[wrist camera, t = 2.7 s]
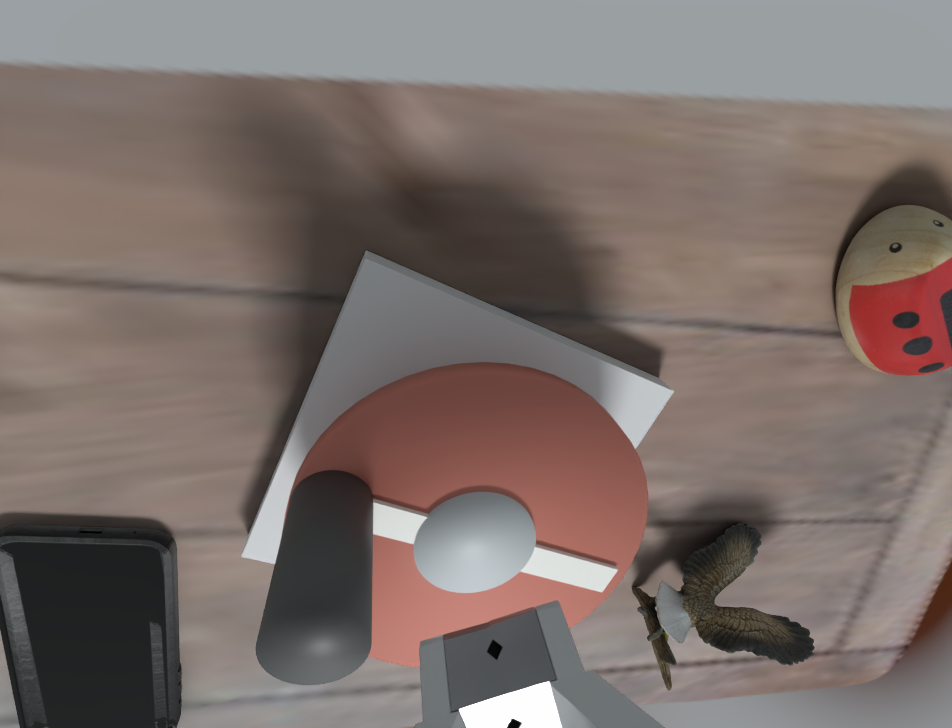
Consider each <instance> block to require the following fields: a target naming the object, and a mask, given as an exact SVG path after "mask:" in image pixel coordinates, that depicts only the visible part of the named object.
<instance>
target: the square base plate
mask: <svg viewBox="0 0 952 728" xmlns="http://www.w3.org/2000/svg"><path fill="white" fill-rule="evenodd" d="M474 362H493V363H509V364H515V365H520V366H525V367H531V368H535V369H538V370H541V371H544V372H547V373H550V374H553V375H556V376H558V377H560V378H562V379H564V380H566V381H568V382H570V383H572V384H574V385H576V386H577V387H579V388H580V389H582V390H583V391H585V392H586V393H587V394H589V395H590V396H592V397H593V398H594V399H595V400H596V401H597V402H598V403H599V404H600V405H601V406H603V407H604V408H605V409H606V410H607V411H608V413H609V414H610V415H611V416H612V418H613V419H614V420H615V421H616V423H617V424H618V425H619V426H620V428H621V429H622V430H623V432H624V433H625V434H626V436H627V437H628V438H629V439H630V441H631V442H632V444H633V446H634V448H635V449H636V448H637V446H638V445H639V443H640V442H641V440H642V439H643V437H644V436H645V434H646V433H647V431H648V430H649V428H650V427H651V425H652V424H653V422H654V421H655V419H656V418H657V416H658V415H659V413H660V412H661V410H662V409H663V407H664V406H665V404H666V403H667V401H668V400H669V398H670V397H671V395H672V394H673V392H674V391H673V390H672V389H671V388H670V387H669V386H668V385H666V384H665V383H664V382H663V381H662V380H661V379H660V378H658V377H656V376H653V375H651V374H649V373H646V372H644V371H642V370H639V369H637V368H635V367H633V366H630V365H628V364H626V363H623V362H621V361H619V360H617V359H614V358H612V357H610V356H607V355H605V354H603V353H601V352H598V351H596V350H594V349H591V348H589V347H587V346H585V345H582V344H580V343H578V342H575V341H573V340H571V339H568V338H566V337H564V336H562V335H559V334H557V333H555V332H552V331H550V330H548V329H546V328H543V327H541V326H539V325H536V324H534V323H532V322H530V321H527V320H525V319H523V318H520V317H518V316H516V315H513V314H511V313H509V312H507V311H504V310H502V309H500V308H497V307H495V306H493V305H491V304H488V303H486V302H484V301H481V300H479V299H477V298H475V297H472V296H470V295H468V294H465V293H463V292H461V291H458V290H456V289H454V288H452V287H449V286H447V285H445V284H442V283H440V282H438V281H436V280H433V279H431V278H429V277H426V276H424V275H422V274H420V273H417V272H415V271H413V270H410V269H408V268H406V267H403V266H401V265H399V264H397V263H394V262H392V261H390V260H387V259H385V258H383V257H381V256H378V255H376V254H374V253H371V252H369V251H367V250H366V251H365V254H364V256H363V258H362V261H361V263H360V266H359V268H358V270H357V273H356V275H355V278H354V280H353V283H352V285H351V287H350V290H349V292H348V295H347V297H346V300H345V302H344V304H343V307H342V309H341V312H340V314H339V316H338V319H337V321H336V324H335V326H334V329H333V331H332V333H331V336H330V338H329V341H328V343H327V345H326V348H325V350H324V353H323V355H322V358H321V360H320V362H319V365H318V367H317V370H316V372H315V374H314V377H313V379H312V382H311V384H310V387H309V389H308V391H307V394H306V396H305V399H304V401H303V403H302V406H301V408H300V411H299V413H298V416H297V418H296V420H295V423H294V425H293V428H292V430H291V433H290V435H289V437H288V440H287V442H286V445H285V447H284V449H283V452H282V454H281V457H280V459H279V462H278V464H277V466H276V469H275V471H274V474H273V476H272V478H271V481H270V483H269V486H268V488H267V491H266V493H265V495H264V498H263V500H262V503H261V505H260V507H259V510H258V512H257V515H256V517H255V520H254V522H253V524H252V527H251V529H250V532H249V534H248V537H247V540H246V543H245V546H244V549H243V553H242V556H241V557H245V558H250V559H254V560H259V561H263V562H268V563H272V564H275V562H276V558H277V554H278V549H279V545H280V541H281V537H282V530H283V524H284V518H285V512H286V508H287V504H288V500H289V496H290V492H291V489H292V486H293V483H294V480H295V477H296V474H297V472H298V470H299V468H300V466H301V465H302V463H303V461H304V459H305V457H306V455H307V453H308V452H309V450H310V449H311V448H312V446H313V445H314V444H315V442H316V441H317V440H318V438H319V437H320V435H321V434H322V433H323V432H324V431H325V430H326V429H327V428H328V427H329V426H330V425H331V424H332V423H333V422H334V421H335V420H336V419H337V418H338V417H339V416H340V415H341V414H343V413H344V412H345V411H346V410H348V409H349V408H350V407H351V406H353V405H354V404H355V403H356V402H358V401H359V400H361V399H363V398H364V397H366V396H367V395H369V394H371V393H372V392H374V391H376V390H377V389H379V388H381V387H383V386H385V385H387V384H390V383H392V382H394V381H396V380H399V379H401V378H403V377H405V376H408V375H412V374H415V373H418V372H421V371H425V370H428V369H431V368H436V367H442V366H447V365H452V364H459V363H474Z"/></svg>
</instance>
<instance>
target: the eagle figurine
mask: <svg viewBox="0 0 952 728" xmlns="http://www.w3.org/2000/svg"><path fill="white" fill-rule="evenodd" d="M749 529H750V526H749V525H746V526H744V524H743V523H740V524H736V525H732V526H731V527H730V528H729V529H726V530H725V533H724V535H721V536H719V537H718V538H717V539H716V542H713V543H711V545H709V546H707V547H706V548H705V550H703V549H700V550H699V551H694V553H693V554H692V555H691V556H690V557H689V559H688V560H687V561H686V562H685V563H684V567H683V569H682V571H683V573H684V577H683V582H684V585H683V586H682V587H681V590H680V591H678V592H677V591H676V590H675V589H673V588H672V587H671V586H669V585H668V584H667V583H666V582H664V581H662V582H661V583H660V585H659V588H658V592H657V596H655V597H654V598H653V597H650V596H648V594H646V593H645V592H643V591H642V590H641V589H640V588H635V587H632V591H633V593H634V595H635V596H636V598H637V599H638V601H639V603H640V605H641V607H638V611H639V612H640V613H642V615H643V616H644V619H645V622H646V625H647V629H648V631H649V634H650V635H648V637H647V639H648V641H651V642H652V646H653V649H654V653H655V655H656V658H657V661H658V664H659V667H660V670H661V673H662V677H663V680H664V682H665V685H666V688H667V690H671V688H672V684H671V675H670V670H669V666H668V664H671V665H674V666H675V665H676V660H675V658H674V655H673V653H672V651H671V649H670V647H669V645H668V643H667V641H668V636H670V637H671V639H673V640H674V641H676V642H678V643H683V642H684V640H685V637H686V635H687V633H688V631H689V629H690V627H696V629H697V631H698V633H699V636H700V638H702V639H703V641H704V642H705V643H706V644H708V643H710V645H711V646H713V647H715V648H717V649H720V650H722V651H726V652H728V653H734V652H736V651H743V650H745V651H747V652H753V653H754V654H755V655H757V656H760V655H761V656H767V657H768V658H769V659H775V660H777V661H778V662H779V663H780V664H782V665H786V664H788V665H793V662H794V663H796V664H798V663H799V661H800V662H803V661H804V660H805V659H808V658H809V657H810V656H813V652H812V651H813V650H814V646H813V643H814V640H813V639H812V638H810V637H809V635H810V631H809V630H808V629H806V628H803V627H801V625H800V624H799V623H797V622H790V620H789V618H787V617H782V616H776V615H770V614H766V613H763V612H761V611H758V610H756V609H753V608H745V607H739V608H735V607H719V606H717V605H715V603H714V600H715V597H716V596H717V595H718V594H719V593H720V592H721V591H722V590H723V589H724V588H725V587H726V586H728V585H729V584H730V583H732V582H733V581H734V580H735V579H736V578H737V577H739V576H740V575H741V574H742V573H743V572H744V571H745V569H746V567H748V566H749V565H751V564H752V563H753V562H754V557H755V556H756V555H757V553H758V550H757V548H758V547H759V546H760V545H761V541H760V540H759V539H760V538H761V535H760V534H757V529H750V530H749ZM656 606H657V611H656V610H655V607H656ZM657 614H658V617H657ZM658 618H659V620H658Z"/></svg>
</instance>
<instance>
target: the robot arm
mask: <svg viewBox="0 0 952 728" xmlns="http://www.w3.org/2000/svg"><path fill="white" fill-rule="evenodd" d="M419 659H420V677H421V695H422V714H423V722H421V723H418V724H416V725H415V727H414V728H664V726H662V725H661V724H660V723H658V722H657V721H656V720H655V719H654V718H652V717H651V716H650V715H648V714H647V713H646V712H645V711H643V710H642V709H641V708H640V707H638V706H637V705H636V704H635V703H633V702H632V701H631V700H630V699H628V698H627V697H626V696H625V695H623V694H622V693H621V692H619V691H618V690H617V689H616V688H614V687H613V686H612V685H611V684H609V683H608V682H607V681H606V680H604V679H603V678H602V677H601V676H599V675H598V674H597V673H596V672H594V671H593V670H588V671H584V668H583V665H582V662H581V660H580V657H579V654H578V651H577V649H576V646H575V643H574V640H573V638H572V635H571V632H570V629H569V627H568V624H567V621H566V618H565V616H564V613H563V610H562V607H561V605H560V603H559V602H558V600H555V601H552V602H549V603H546V604H542V605H539V606H536V607H535V608H534V607H531V608H528V609H524V610H521V611H518V612H515V613H512V614H509V615H506V616H503V617H500V618H496V619H493V620H490V622H487V623H483V624H480V625H476V626H472V627H469V628H465V629H461V630H458V631H454V632H450V633H447V634H443V635H440V636H437V637H433V638H430V639H426V640H423V641H420V647H419Z"/></svg>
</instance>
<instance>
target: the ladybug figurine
mask: <svg viewBox="0 0 952 728" xmlns="http://www.w3.org/2000/svg"><path fill="white" fill-rule="evenodd" d="M835 297H836V312H837V318H838V323H839V327H840V331H841V333H842V336H843V338H844V341H845V343H846V344H847V346H848V348H849V349H850V351H851V352H852V353H853V355H854V356H855V357H856V358H857V359H858V360H859V361H860V362H862V363H863V364H865V365H866V366H868V367H870V368H872V369H874V370H877V371H880V372H883V373H888V374H894V375H904V376H913V375H925V374H930V373H934V372H937V371H941V370H943V369H946V368H949V367H951V366H952V221H951V220H950V219H949V218H947V217H945V216H944V215H942V214H940V213H938V212H936V211H934V210H931V209H928V208H926V207H922V206H916V205H900V206H895V207H892V208H889V209H887V210H884V211H883V212H881V213H879V214H878V215H876V216H875V217H873V218H872V219H871V220H869V221H868V222H867V223H866V224H865V225H864V226H863V227H862V228H861V229H860V230H859V231H858V233H857V234H856V235H855V236H854V238H853V239H852V241H851V243H850V245H849V247H848V249H847V251H846V253H845V255H844V258H843V260H842V263H841V266H840V270H839V273H838V278H837V283H836V295H835Z"/></svg>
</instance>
